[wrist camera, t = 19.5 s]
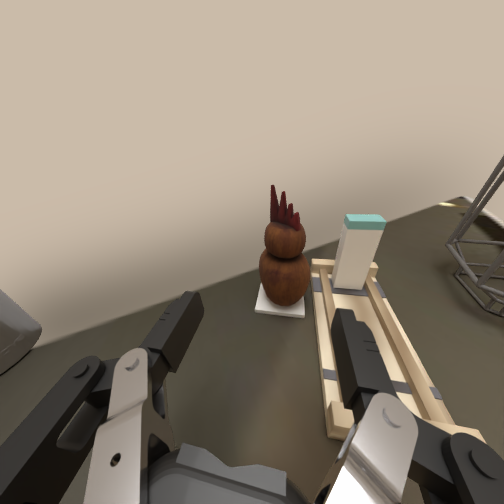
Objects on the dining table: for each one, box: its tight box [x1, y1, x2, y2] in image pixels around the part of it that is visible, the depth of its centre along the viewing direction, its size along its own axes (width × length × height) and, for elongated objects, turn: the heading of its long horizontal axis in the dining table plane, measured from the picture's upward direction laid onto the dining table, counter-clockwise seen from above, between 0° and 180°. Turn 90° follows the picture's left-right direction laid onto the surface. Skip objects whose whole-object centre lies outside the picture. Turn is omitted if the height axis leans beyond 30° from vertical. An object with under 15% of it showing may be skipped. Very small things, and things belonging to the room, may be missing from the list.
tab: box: [331, 214, 386, 290], centre depth 23 cm, size 4×2×10 cm, turn 79°
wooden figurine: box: [259, 185, 310, 306], centre depth 22 cm, size 7×6×15 cm
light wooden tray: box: [310, 259, 486, 443], centre depth 21 cm, size 9×20×3 cm, turn 169°
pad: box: [255, 283, 305, 318], centre depth 26 cm, size 6×6×1 cm
